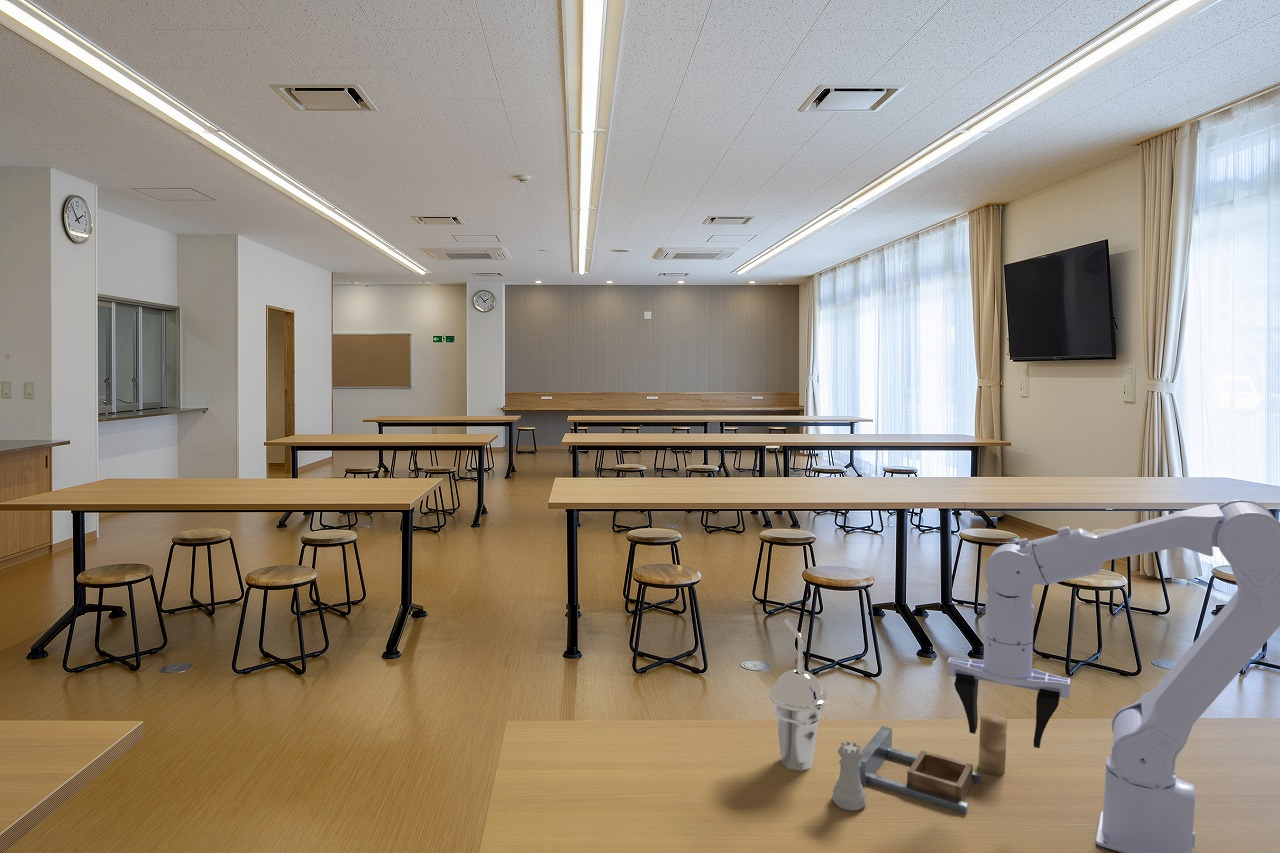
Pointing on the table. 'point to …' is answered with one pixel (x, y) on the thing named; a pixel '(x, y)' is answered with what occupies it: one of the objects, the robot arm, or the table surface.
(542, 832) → the table surface
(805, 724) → the cup with straw
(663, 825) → the table surface
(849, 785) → the rook chess piece
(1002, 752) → the oak dowel
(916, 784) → the walnut socket block
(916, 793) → the rail
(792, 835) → the table surface
